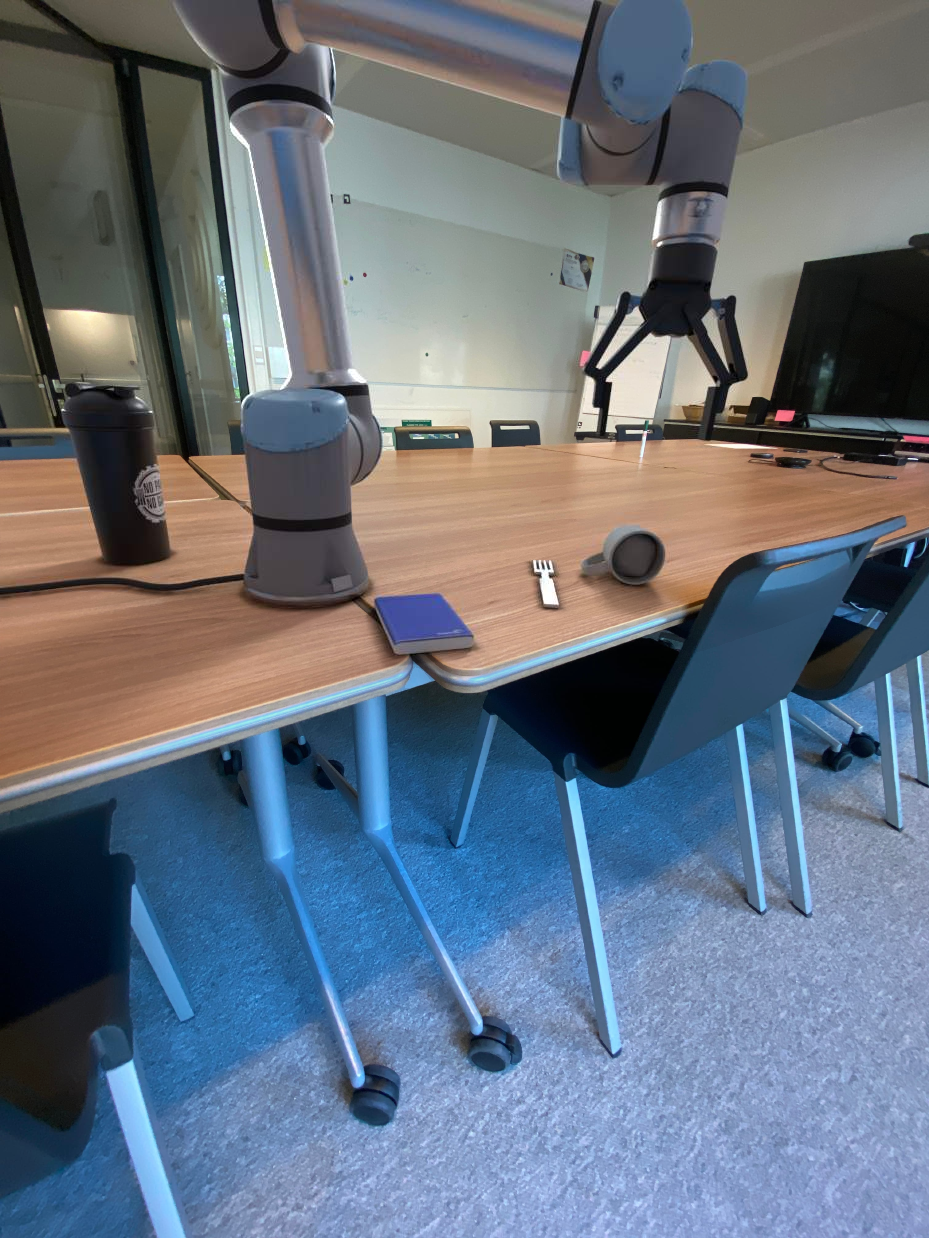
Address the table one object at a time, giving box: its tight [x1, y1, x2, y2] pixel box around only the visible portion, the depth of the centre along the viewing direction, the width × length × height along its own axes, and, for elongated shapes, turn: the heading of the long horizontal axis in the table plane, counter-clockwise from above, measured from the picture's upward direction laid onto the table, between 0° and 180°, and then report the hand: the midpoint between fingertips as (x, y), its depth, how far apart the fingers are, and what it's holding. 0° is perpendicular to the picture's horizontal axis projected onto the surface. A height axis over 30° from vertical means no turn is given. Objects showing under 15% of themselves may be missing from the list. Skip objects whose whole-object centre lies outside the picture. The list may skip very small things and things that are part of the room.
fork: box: [532, 559, 560, 609], centre depth 74 cm, size 3×19×1 cm, turn 176°
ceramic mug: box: [580, 524, 666, 586], centre depth 77 cm, size 11×8×8 cm
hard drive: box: [373, 592, 475, 655], centre depth 58 cm, size 2×8×12 cm
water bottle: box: [60, 381, 172, 566], centre depth 73 cm, size 10×10×23 cm
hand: (651, 438), depth 71 cm, fingers open, 13 cm apart
